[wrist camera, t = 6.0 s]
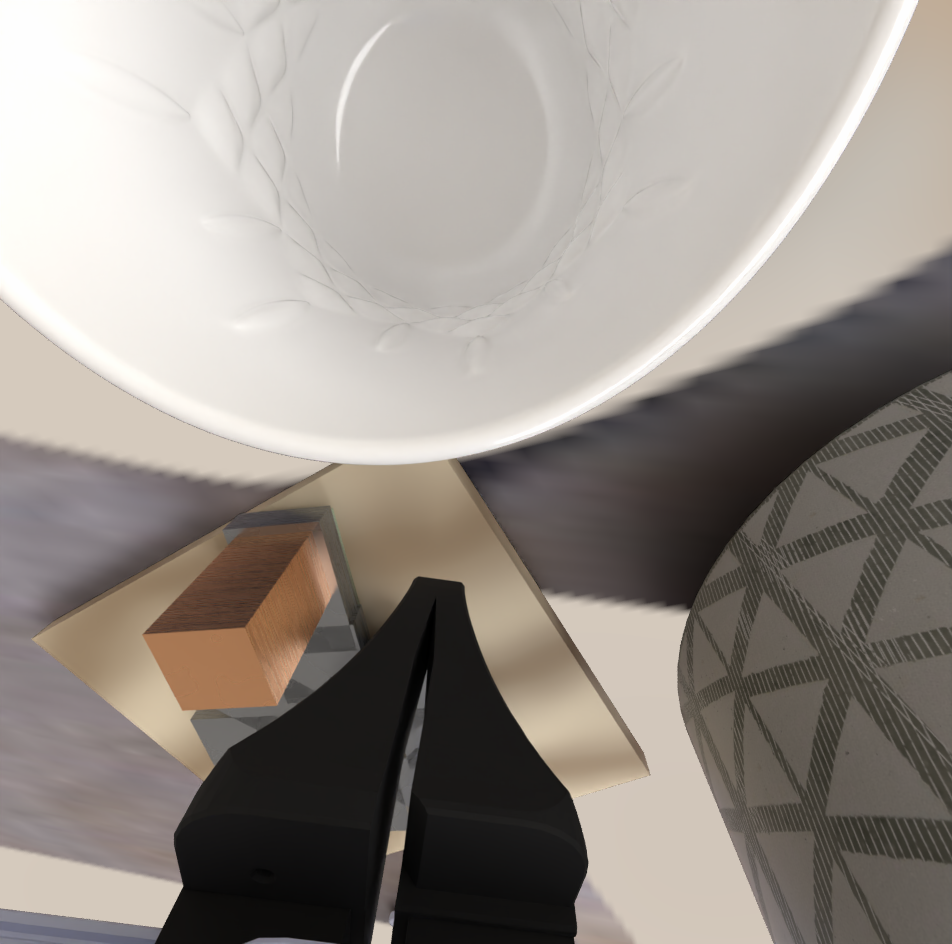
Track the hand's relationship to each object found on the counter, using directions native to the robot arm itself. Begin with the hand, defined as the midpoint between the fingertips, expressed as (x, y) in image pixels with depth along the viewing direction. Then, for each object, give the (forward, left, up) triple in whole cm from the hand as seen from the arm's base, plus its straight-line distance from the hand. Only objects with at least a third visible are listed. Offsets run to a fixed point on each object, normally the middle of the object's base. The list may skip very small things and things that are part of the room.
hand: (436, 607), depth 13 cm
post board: (-5, +7, -4) cm, 9 cm away
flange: (-3, +6, -2) cm, 7 cm away
